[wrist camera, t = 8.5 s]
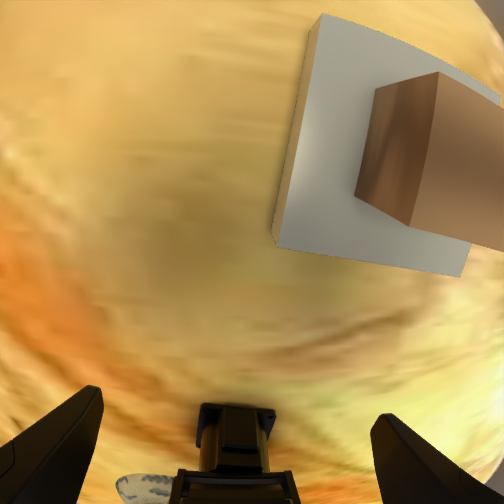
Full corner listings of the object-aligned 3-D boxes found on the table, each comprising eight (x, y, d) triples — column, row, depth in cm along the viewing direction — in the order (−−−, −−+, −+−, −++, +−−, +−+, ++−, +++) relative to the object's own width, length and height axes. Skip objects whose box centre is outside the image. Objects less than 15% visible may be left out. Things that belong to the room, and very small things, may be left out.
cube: (439, 218, 17) (504, 252, 11) (353, 196, 16) (408, 226, 10) (459, 124, 15) (531, 129, 9) (375, 88, 14) (439, 71, 9)
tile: (437, 261, 21) (459, 277, 18) (270, 231, 20) (276, 247, 17) (474, 96, 17) (500, 95, 14) (309, 29, 15) (321, 12, 13)
